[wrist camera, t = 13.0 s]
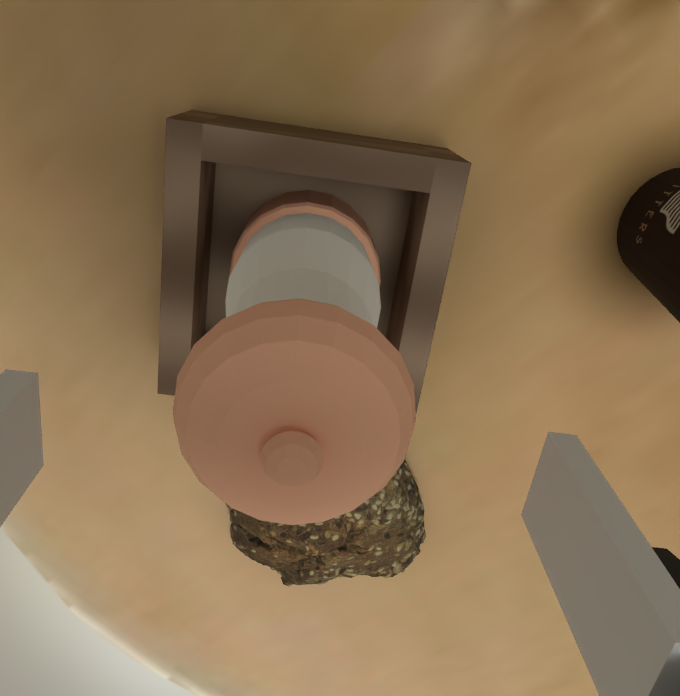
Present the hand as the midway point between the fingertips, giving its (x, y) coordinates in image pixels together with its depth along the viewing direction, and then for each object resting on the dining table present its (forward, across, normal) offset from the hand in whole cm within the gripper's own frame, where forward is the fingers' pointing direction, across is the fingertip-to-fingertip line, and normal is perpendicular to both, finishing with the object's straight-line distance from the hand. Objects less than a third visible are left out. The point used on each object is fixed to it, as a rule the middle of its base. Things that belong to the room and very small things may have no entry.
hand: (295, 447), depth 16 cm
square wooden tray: (+20, 0, 0) cm, 20 cm away
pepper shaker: (+19, 0, 0) cm, 19 cm away
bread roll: (+20, +3, -17) cm, 26 cm away
